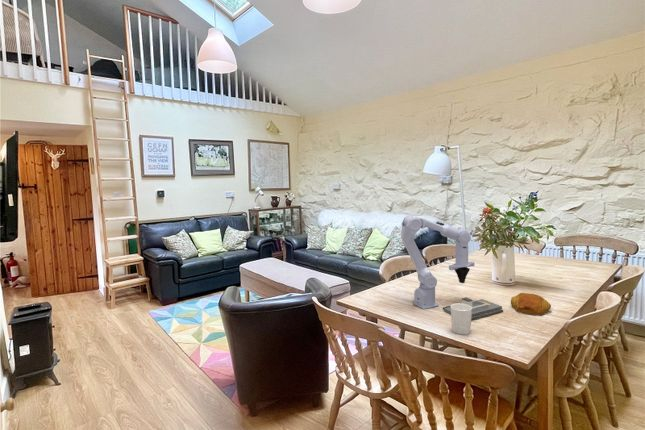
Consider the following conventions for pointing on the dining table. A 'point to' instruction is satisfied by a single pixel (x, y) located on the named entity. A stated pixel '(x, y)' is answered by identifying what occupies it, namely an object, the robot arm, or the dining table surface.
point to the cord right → (486, 315)
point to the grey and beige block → (467, 301)
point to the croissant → (530, 304)
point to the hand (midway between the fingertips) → (461, 282)
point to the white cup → (461, 318)
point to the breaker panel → (480, 307)
